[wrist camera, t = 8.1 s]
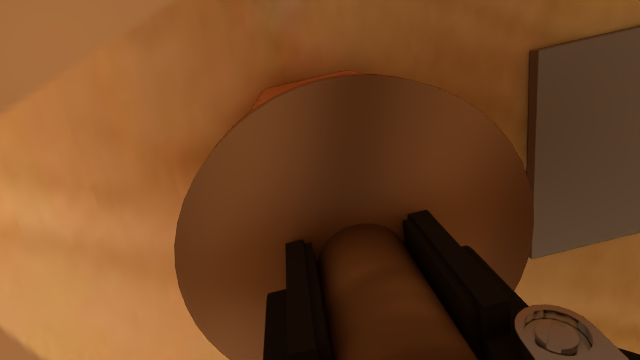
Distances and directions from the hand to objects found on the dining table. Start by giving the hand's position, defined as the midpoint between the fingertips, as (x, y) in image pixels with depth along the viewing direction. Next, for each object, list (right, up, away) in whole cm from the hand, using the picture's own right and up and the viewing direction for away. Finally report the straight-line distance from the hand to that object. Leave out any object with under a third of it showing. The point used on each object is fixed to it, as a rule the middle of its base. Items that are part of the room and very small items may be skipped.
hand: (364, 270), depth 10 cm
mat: (+17, +5, +9) cm, 20 cm away
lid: (0, +1, +1) cm, 1 cm away
